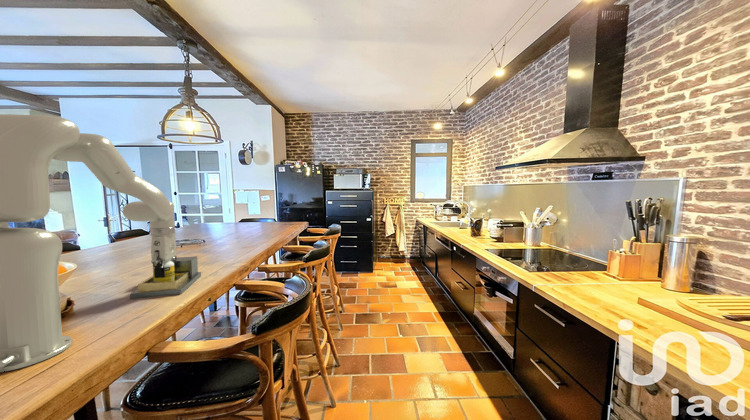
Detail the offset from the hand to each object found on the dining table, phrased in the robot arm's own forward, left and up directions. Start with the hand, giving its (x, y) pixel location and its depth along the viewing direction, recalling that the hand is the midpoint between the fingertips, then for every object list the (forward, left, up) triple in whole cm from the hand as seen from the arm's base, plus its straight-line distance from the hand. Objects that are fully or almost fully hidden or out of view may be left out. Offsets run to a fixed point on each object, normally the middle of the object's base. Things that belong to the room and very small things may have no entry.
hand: (164, 274), depth 99 cm
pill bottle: (0, 0, -5) cm, 5 cm away
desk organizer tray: (+4, 0, -7) cm, 8 cm away
